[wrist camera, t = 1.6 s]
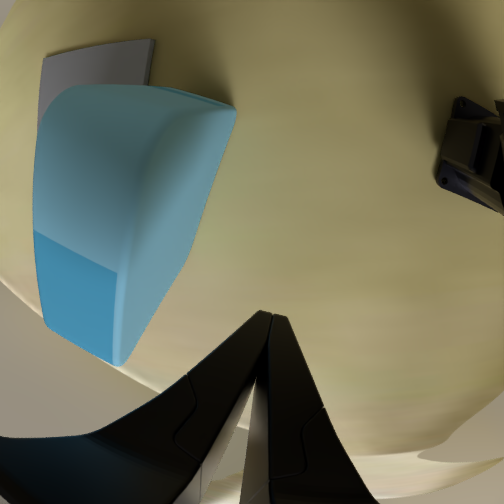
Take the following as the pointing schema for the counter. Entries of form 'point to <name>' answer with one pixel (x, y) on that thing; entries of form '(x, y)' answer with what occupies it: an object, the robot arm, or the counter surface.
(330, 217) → the counter surface
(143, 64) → the mat
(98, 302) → the light blue flat block
